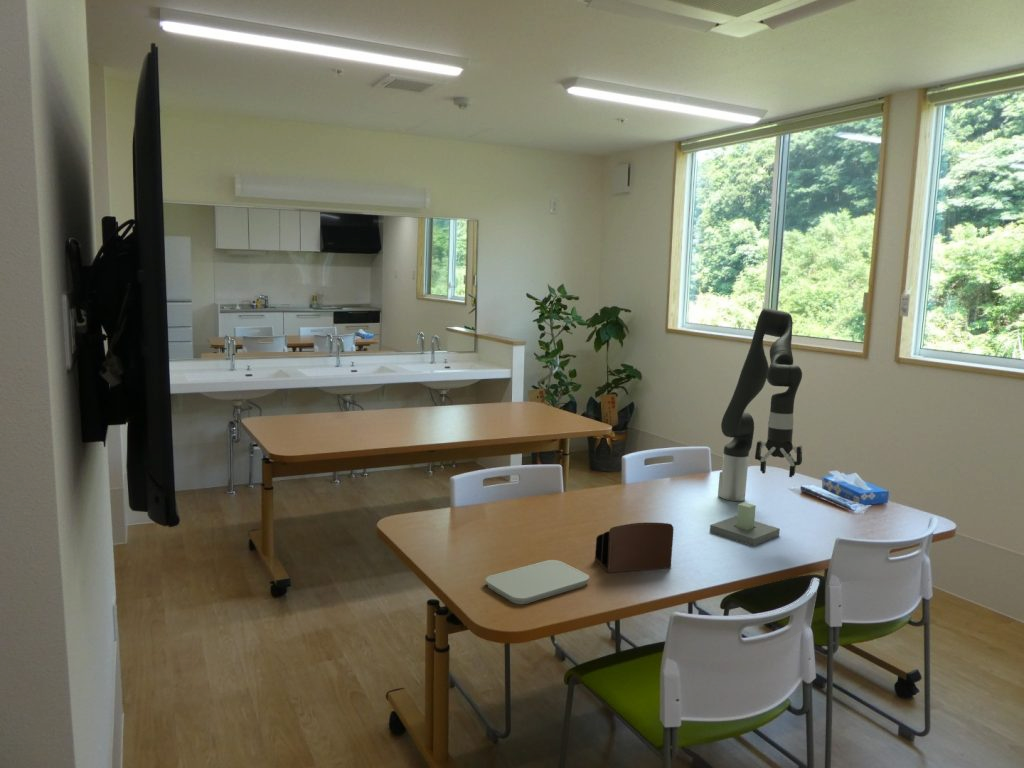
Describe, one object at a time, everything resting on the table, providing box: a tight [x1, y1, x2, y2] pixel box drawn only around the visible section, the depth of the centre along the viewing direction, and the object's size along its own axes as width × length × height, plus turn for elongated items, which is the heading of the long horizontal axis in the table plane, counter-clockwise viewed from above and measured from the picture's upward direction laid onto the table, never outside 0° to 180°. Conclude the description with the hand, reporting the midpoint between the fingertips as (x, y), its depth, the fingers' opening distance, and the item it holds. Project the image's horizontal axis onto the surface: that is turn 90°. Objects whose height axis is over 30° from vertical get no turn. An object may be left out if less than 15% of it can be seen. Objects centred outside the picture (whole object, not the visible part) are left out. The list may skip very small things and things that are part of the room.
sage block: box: [736, 501, 757, 530], centre depth 245 cm, size 4×4×10 cm
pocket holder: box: [709, 515, 781, 547], centre depth 246 cm, size 16×16×2 cm
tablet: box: [485, 559, 590, 605], centre depth 200 cm, size 16×26×2 cm, turn 128°
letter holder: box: [594, 522, 674, 574], centre depth 215 cm, size 10×20×14 cm, turn 105°
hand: (777, 474), depth 243 cm, fingers open, 8 cm apart
